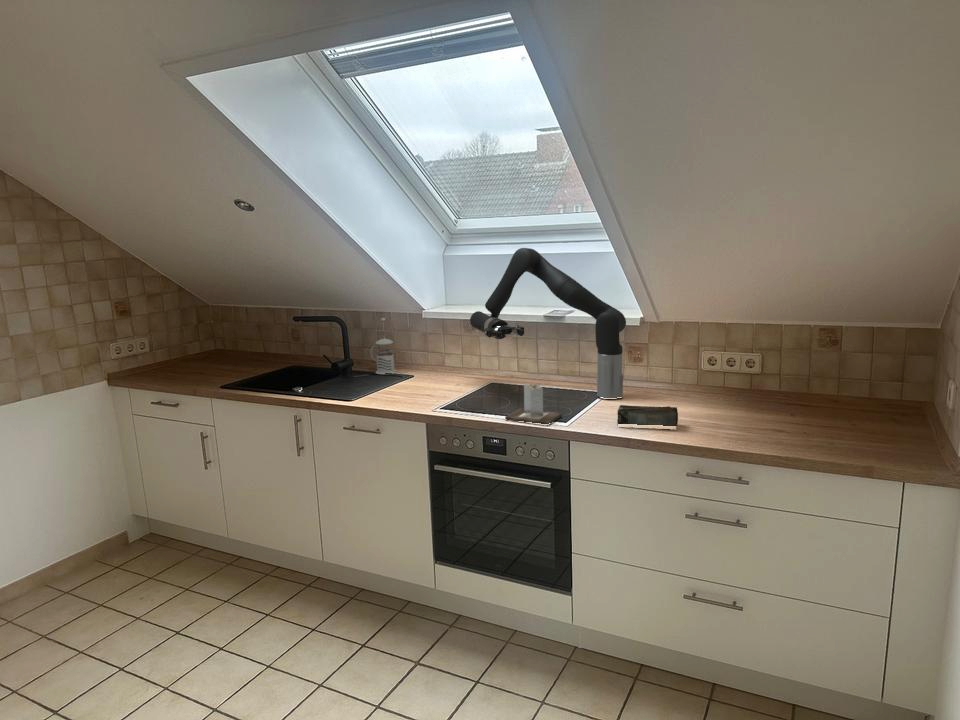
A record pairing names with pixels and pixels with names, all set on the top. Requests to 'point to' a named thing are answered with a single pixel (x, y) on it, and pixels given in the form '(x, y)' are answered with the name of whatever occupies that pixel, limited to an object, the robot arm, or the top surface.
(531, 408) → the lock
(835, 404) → the top surface
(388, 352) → the french press
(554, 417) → the mount plate
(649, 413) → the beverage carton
